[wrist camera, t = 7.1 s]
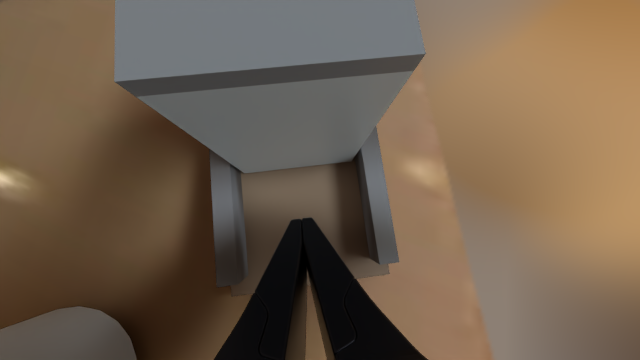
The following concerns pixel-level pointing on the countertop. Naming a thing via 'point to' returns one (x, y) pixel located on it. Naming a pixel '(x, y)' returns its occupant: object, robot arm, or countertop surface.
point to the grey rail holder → (301, 215)
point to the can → (67, 337)
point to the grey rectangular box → (269, 72)
